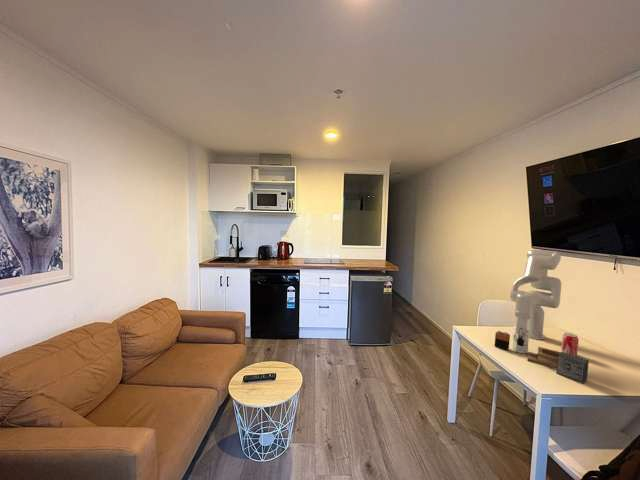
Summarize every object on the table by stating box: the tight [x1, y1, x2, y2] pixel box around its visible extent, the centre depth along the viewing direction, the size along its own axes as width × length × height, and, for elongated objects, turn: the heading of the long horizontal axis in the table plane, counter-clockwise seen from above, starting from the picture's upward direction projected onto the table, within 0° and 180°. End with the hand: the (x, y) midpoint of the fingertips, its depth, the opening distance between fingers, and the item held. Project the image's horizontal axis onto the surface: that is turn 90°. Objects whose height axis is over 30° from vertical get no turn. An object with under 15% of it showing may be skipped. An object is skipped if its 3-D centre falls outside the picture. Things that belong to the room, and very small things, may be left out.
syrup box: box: [512, 325, 530, 354], centre depth 163 cm, size 6×6×14 cm
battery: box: [494, 330, 511, 351], centre depth 167 cm, size 4×7×10 cm, turn 42°
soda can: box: [561, 332, 580, 356], centre depth 161 cm, size 7×7×12 cm
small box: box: [555, 351, 590, 384], centre depth 136 cm, size 11×6×10 cm, turn 33°
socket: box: [527, 346, 562, 370], centre depth 150 cm, size 11×20×6 cm, turn 51°
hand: (520, 342), depth 163 cm, fingers closed on syrup box, 7 cm apart
